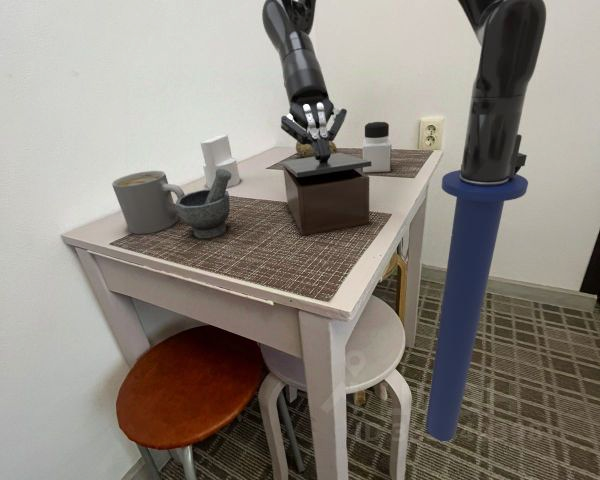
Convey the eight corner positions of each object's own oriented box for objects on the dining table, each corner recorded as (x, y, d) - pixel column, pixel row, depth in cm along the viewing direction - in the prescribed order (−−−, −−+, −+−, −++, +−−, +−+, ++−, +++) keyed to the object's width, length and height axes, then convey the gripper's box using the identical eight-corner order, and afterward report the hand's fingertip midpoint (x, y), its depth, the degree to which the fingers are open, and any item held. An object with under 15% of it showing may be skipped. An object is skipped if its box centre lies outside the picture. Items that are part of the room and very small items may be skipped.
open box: (369, 223, 60) (369, 176, 56) (302, 235, 58) (297, 188, 54) (342, 195, 74) (341, 156, 69) (287, 204, 72) (282, 165, 68)
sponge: (296, 155, 116) (291, 157, 97) (298, 132, 114) (294, 130, 95) (333, 159, 116) (335, 162, 96) (336, 136, 113) (339, 135, 94)
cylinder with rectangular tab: (218, 177, 96) (209, 135, 90) (245, 178, 93) (238, 134, 87) (200, 188, 89) (189, 143, 83) (229, 189, 86) (220, 142, 80)
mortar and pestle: (176, 243, 60) (156, 180, 55) (196, 221, 68) (181, 164, 63) (234, 241, 59) (220, 176, 53) (248, 219, 67) (237, 161, 61)
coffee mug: (118, 232, 67) (100, 185, 63) (152, 212, 75) (138, 170, 71) (170, 237, 63) (154, 187, 58) (200, 216, 71) (189, 170, 66)
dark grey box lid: (371, 166, 54) (371, 161, 54) (297, 177, 52) (296, 172, 52) (341, 156, 69) (340, 152, 69) (282, 165, 68) (282, 161, 67)
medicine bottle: (390, 171, 86) (392, 123, 80) (362, 173, 87) (362, 126, 81) (388, 164, 92) (390, 119, 86) (362, 165, 93) (362, 121, 87)
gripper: (270, 70, 59) (288, 153, 54) (340, 63, 60) (365, 142, 55) (270, 100, 66) (287, 176, 61) (333, 92, 68) (354, 166, 63)
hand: (324, 160), depth 58 cm, fingers closed
